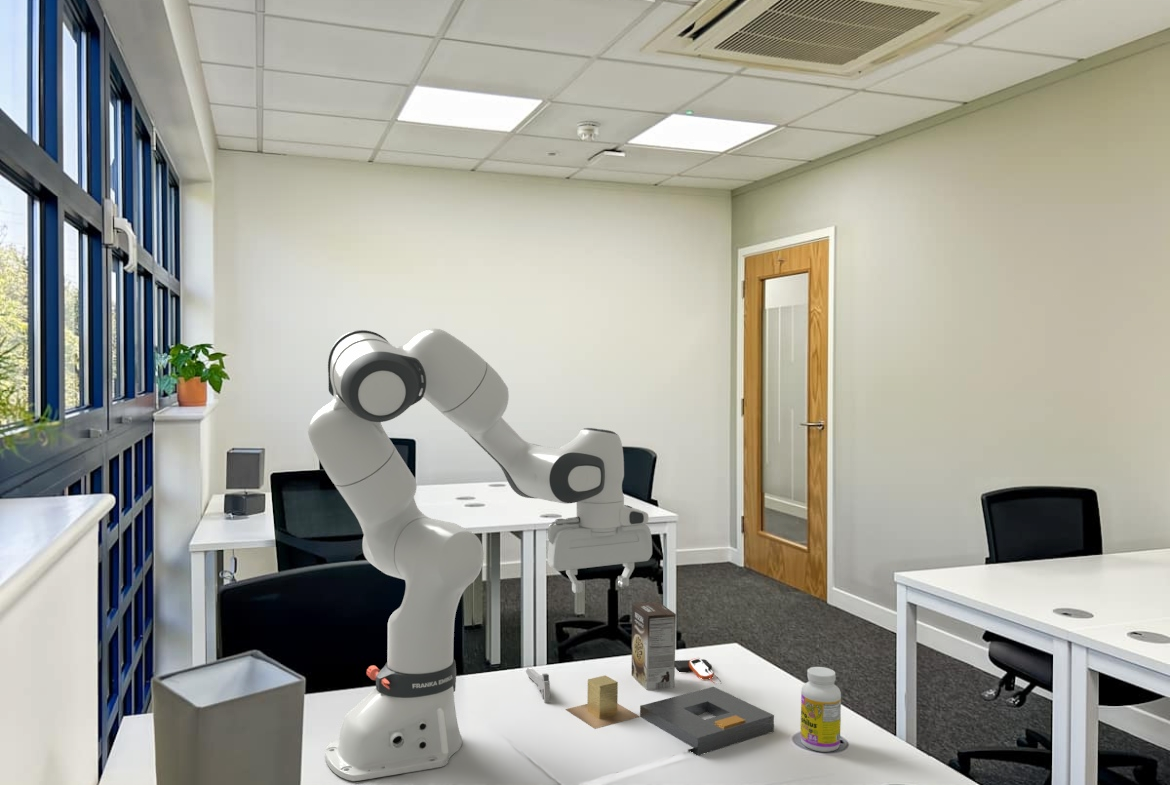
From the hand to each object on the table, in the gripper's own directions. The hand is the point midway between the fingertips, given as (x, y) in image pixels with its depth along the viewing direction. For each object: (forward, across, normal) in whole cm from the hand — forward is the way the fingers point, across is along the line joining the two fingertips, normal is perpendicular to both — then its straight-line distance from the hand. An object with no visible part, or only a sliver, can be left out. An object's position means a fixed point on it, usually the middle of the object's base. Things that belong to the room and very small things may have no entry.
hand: (600, 589), depth 153 cm
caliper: (+24, -6, +17) cm, 31 cm away
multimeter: (+25, +29, +9) cm, 40 cm away
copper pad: (+24, 0, -1) cm, 24 cm away
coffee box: (+25, +16, +10) cm, 31 cm away
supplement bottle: (+25, +30, -26) cm, 46 cm away
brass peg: (+23, 0, -1) cm, 23 cm away
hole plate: (+24, +16, -12) cm, 31 cm away
